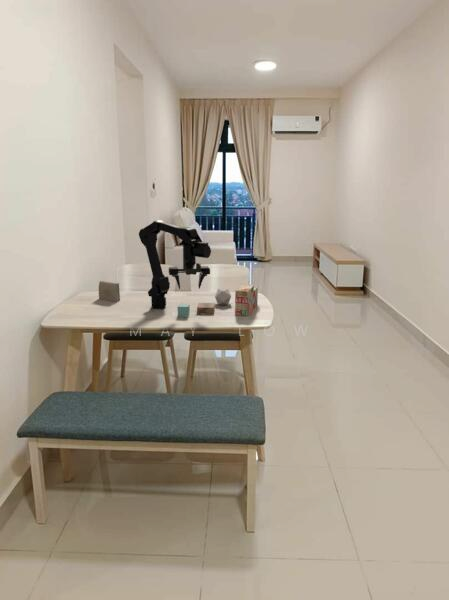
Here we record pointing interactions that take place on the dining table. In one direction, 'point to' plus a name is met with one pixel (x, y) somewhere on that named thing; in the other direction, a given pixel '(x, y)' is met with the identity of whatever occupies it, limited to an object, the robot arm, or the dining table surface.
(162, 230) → the robot arm
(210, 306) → the walnut base
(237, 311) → the printed cardboard box
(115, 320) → the dining table surface
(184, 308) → the teal cube
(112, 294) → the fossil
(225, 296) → the die
